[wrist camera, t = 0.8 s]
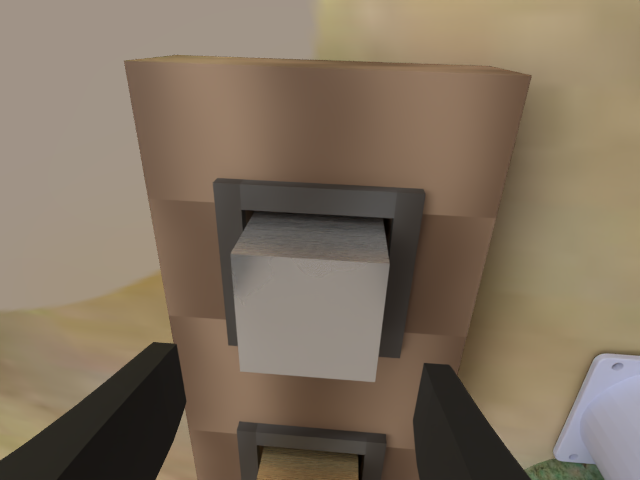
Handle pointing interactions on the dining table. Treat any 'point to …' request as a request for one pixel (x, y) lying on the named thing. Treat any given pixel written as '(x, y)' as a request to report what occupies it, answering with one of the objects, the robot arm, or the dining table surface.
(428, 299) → the walnut board
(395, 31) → the dining table surface
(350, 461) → the brass peg
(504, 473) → the robot arm
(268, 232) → the steel peg
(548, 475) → the decorative artifact
